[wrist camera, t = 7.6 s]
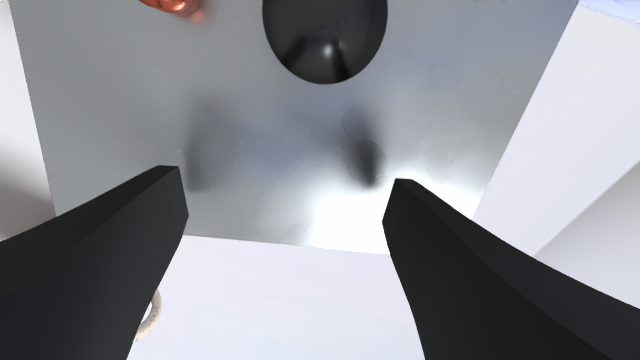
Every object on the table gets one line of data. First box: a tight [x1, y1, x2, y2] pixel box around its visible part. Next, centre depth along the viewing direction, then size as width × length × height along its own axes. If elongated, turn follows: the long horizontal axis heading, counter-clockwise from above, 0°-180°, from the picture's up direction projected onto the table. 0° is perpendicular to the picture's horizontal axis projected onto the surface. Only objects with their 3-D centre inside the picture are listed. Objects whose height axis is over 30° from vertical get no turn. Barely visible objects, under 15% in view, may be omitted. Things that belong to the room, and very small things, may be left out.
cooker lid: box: [9, 0, 579, 254], centre depth 8 cm, size 16×16×3 cm
